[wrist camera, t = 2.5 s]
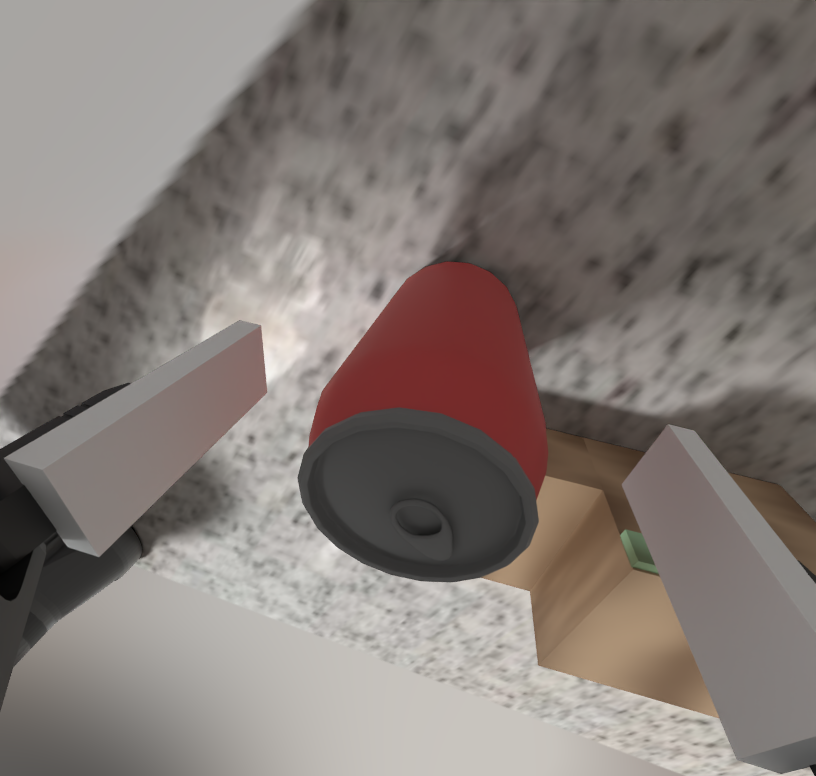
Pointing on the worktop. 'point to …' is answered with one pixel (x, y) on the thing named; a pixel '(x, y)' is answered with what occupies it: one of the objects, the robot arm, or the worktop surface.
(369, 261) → the worktop surface
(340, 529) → the beer can
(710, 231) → the worktop surface
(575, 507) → the step stand
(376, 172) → the worktop surface
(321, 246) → the worktop surface
